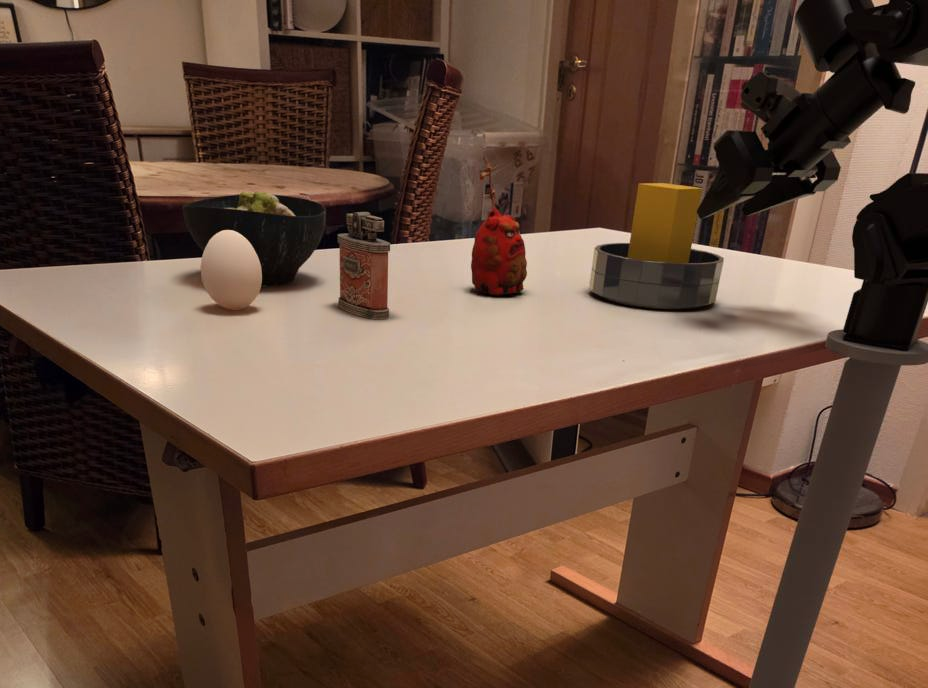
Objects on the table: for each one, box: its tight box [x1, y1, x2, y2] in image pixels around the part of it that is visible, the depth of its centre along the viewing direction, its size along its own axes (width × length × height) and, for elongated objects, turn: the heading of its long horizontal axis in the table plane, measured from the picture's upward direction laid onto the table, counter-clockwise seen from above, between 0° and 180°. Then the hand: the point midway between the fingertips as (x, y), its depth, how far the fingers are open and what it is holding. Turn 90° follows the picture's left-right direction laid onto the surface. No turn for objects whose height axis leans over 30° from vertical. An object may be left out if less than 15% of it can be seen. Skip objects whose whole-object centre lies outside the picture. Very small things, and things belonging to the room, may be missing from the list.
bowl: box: [181, 191, 327, 287], centre depth 106 cm, size 17×17×10 cm
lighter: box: [337, 211, 391, 320], centre depth 94 cm, size 8×3×10 cm, turn 37°
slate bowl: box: [588, 242, 725, 311], centre depth 111 cm, size 16×16×6 cm
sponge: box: [627, 182, 703, 263], centre depth 109 cm, size 6×5×12 cm
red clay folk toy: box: [470, 156, 528, 297], centre depth 107 cm, size 8×7×15 cm
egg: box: [200, 230, 262, 311], centre depth 92 cm, size 6×6×8 cm
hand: (721, 214), depth 102 cm, fingers open, 9 cm apart
